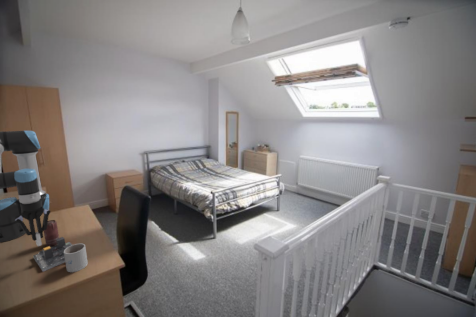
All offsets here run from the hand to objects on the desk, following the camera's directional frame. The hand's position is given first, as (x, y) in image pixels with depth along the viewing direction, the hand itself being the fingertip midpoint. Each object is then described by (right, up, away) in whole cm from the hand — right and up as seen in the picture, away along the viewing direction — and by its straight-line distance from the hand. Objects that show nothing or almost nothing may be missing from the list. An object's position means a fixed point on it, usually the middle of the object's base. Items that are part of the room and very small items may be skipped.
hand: (39, 244), depth 110 cm
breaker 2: (+10, -8, +6) cm, 14 cm away
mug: (+18, -11, +1) cm, 21 cm away
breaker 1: (+1, -6, +13) cm, 14 cm away
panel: (+4, -9, +7) cm, 12 cm away
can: (-8, -7, +18) cm, 21 cm away
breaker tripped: (+1, -8, +4) cm, 9 cm away
